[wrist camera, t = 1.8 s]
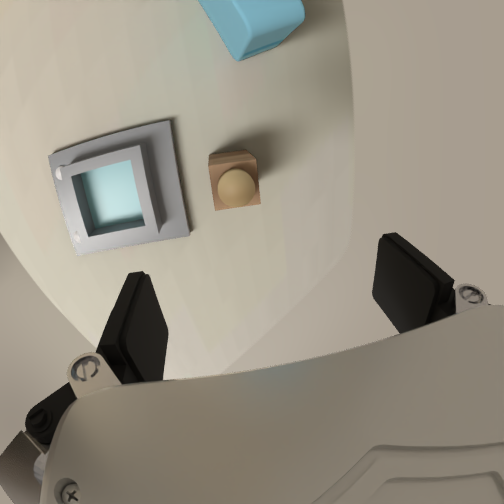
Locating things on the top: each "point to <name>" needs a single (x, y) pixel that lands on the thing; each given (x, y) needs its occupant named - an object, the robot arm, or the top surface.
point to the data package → (253, 23)
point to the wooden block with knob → (234, 179)
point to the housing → (121, 189)
